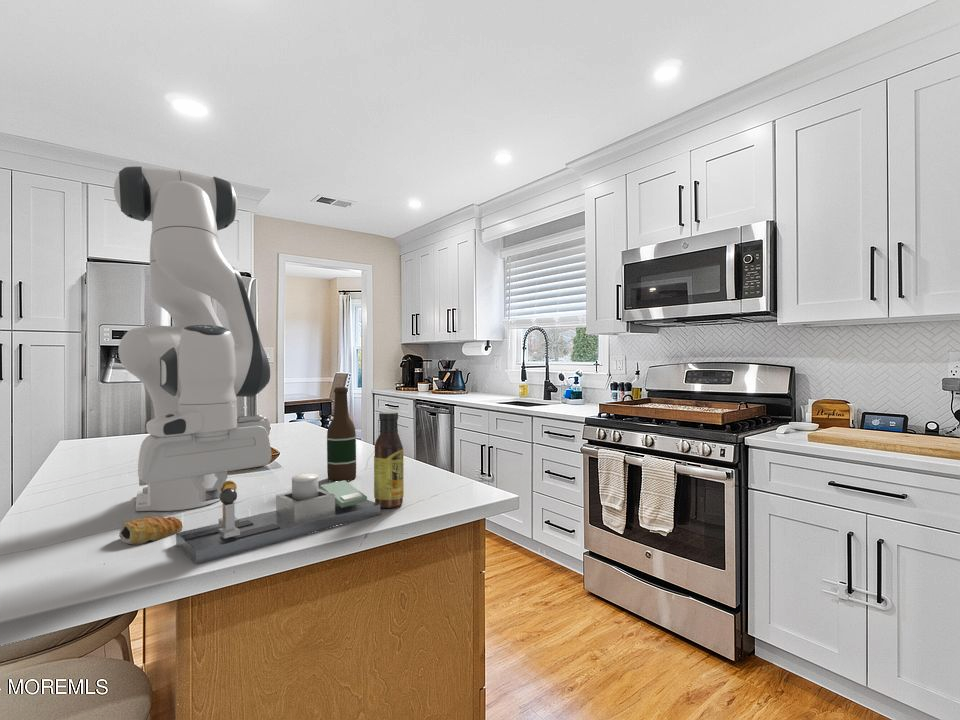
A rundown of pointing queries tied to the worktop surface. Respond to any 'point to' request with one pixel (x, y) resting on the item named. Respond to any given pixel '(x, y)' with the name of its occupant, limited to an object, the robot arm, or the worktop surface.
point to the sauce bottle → (388, 463)
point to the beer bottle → (341, 441)
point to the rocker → (344, 493)
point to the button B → (305, 486)
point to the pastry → (149, 529)
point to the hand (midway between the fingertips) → (209, 499)
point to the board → (273, 526)
